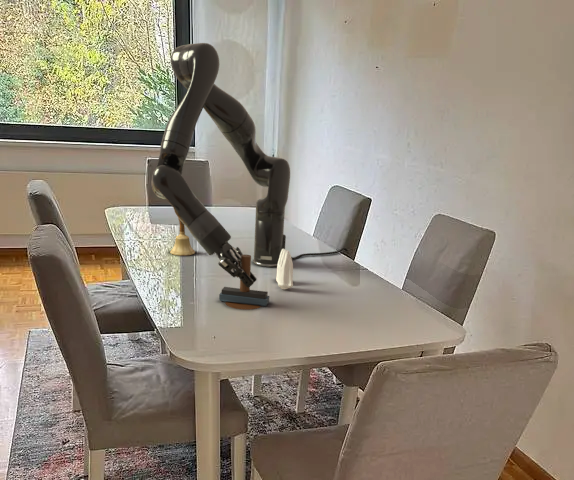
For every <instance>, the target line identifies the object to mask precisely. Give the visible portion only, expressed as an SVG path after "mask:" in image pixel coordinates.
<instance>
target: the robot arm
mask: <svg viewBox="0 0 574 480" xmlns="http://www.w3.org/2000/svg"><path fill="white" fill-rule="evenodd" d="M219 56H220V55H219V53H218V51H217V50H216V48H215V47H214V46H213V45H212V44H210V43H208V42H197V43H189V44H183V45H180V46H177V47H175V48H174V49H173V51H172V53H171V56H170V63H171V68H172V71H173V73H174V75H175V77H176V79H177V80H178V82H180V83H181V85H182V86H183V87H184V88H185V89H186V93H185V94H184V96H183V97H182V99H181V101H180V103H179V104H178V106H177V107H176V108H175V109H174V111H173V112H172V114H171V115H170V117H169V119H168V121H167V123H166V125H165V128H164V132H163V135H162V139H161V143H160V148H159V157H158V160H157V163H156V165H155V169H154V170H153V173H152V176H151V182H150V183H151V184H150V185H151V189H152V192H153V193H154V195H155V196H157V197H158V198H159V199H162V200H167V202H168V203H169V204H170V206H171V207H172V208H173V211H174V213H175V215H176V217H177V219H178V218H179V219H180V220H181V221H182V223H183V224H184V227H185V228H187V230H188V231H189V233H190V234H191V236H192V237H193V238H194V239H195V240H196V242H197V243H198V244H199V245H200V246H201V248H203V250H204V251H205V252H206V253H207V254H208V256H213V255H214V254H216V256H217V258H218V259H219V262H218V263H217V264H218V266H219V267H220V268H222V269H223V270H224V271H225V272H226V273H228V274H229V275H230V276H231V277H232V278H238V279H239V281H240V280H241V281H242V282H243V283H244V284H245V285H246V287H248V288H249V287H250V288H251V286H253V285H254V283H255V282H256V281H257V280H258V279H257V277H256V276H255V274H254V273H253V272H252V270H250V277H249V275H248V274H247V273H246V272H245V271H244V269H243V268H242V267H241V255H244V254H243V252H242V251H241V248H240V247H239V246H236V247H234V246H233V245H232V244H231V243H230V242H229V241H230V240H231V239H232V236H231V234H230V233H229V232H228V231H227V229H225V227H224V226H223V225H222V223H221V222H220V221H219V220H218V219H217V218H216V216H214V215H213V213H211V211H209V210H208V208H207V207H206V206H205V205H204V204H203V203H202V202H201V200H199V198H198V197H197V196H196V194H194V192H193V190H192V189H191V187H190V186H189V184H188V182H187V181H186V179H185V178H184V177H183V175H182V174H183V169H184V165H185V162H186V161H187V158H188V154H189V152H190V148H191V144H192V141H193V136H194V133H195V129H196V126H197V124H198V122H199V118H200V116H201V114H202V111H203V110H204V111H205V112H206V113H207V115H208V116H209V117H210V118H211V120H212V121H213V122H214V124H215V125H216V127H217V128H218V130H219V132H220V133H221V134H222V136H223V137H224V138H225V139H226V140H227V142H228V143H229V144H230V145H231V147H232V148H233V150H234V151H235V153H236V154H237V155H238V157H239V158H240V160H241V161H242V162H243V164H244V166H245V168H246V169H247V171H248V173H249V176H250V177H251V178H252V180H253V181H254V182H255V183H256V185H258V186H260V187H262V188H267V194H266V196H265V197H263V198H262V197H261V198H259V199H257V200H256V202H255V217H254V218H255V220H254V221H255V222H254V241H253V242H254V244H253V261H252V262H253V264H254V265H256V266H260V267H266V268H267V267H268V268H273V267H277V264H278V260H279V257H280V253H281V251H282V249H285V250H286V241H287V240H286V239H287V236H286V234H284V229H285V214H286V213H285V211H286V205H287V203H288V200H289V191H290V183H291V182H290V181H291V166H290V164H289V162H288V160H287V159H285V158H282V157H277V156H270V155H268V154H266V153H265V152H264V151H263V150H262V149H261V147H260V146H259V144H258V142H257V140H256V139H257V130H256V129H257V128H256V125H255V122H254V119H253V118H252V116H251V115H250V114H249V112H248V111H247V109H246V108H245V106H244V105H243V104H242V103H241V102H240V101H239V100H238V99H236V98H235V97H234V96H232V95H231V94H229V93H228V92H227V91H225V90H223V89H222V88H221V87H219V86H218V85H216V84H215V83H216V80H217V78H218V76H219V71H220V57H219ZM179 219H178V220H179ZM342 251H345V252H349V251H348V249H347V248H346V247H341V248H340V249H338V250H334V251H327V252H326V251H325V252H310V253H301V254H299V255H296V256H295V257H292V256H291V258H292V261H293V260H297V259H299V258H301V257H307V256H325V255H334V254H339V253H341V252H342Z"/></svg>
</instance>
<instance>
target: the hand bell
mask: <svg viewBox="0 0 574 480" xmlns="http://www.w3.org/2000/svg"><path fill="white" fill-rule="evenodd" d="M177 219H178V222H179V234H178V235H176V236H175V240H174V241H175V242H174V245H173V247H172V249H171V250H170V251H169V252H170V254H171V255H174V256H182V257H183V256H185V257H186V256H192V255H195V254H196V251H195V249H193V247H192V245H191V242H190V236H188V235H186V231H185V229H186V226H185V225H184V224H183V223H182V221H181V220H180V219H179V218H178V217H177Z"/></svg>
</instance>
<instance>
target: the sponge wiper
mask: <svg viewBox="0 0 574 480" xmlns="http://www.w3.org/2000/svg"><path fill="white" fill-rule="evenodd" d="M241 267H242V268H243V269H244V271H245V272H246V273H247V274H248V275H249V277H250V271H252V270H251V267H252V255H250V254H243V255H241ZM250 288H251V286H250V287H249V288H248V287H246V285H245V284H244V283H243V282H242V281H241V280H240V279H239V288H238V287H231V286H224V287H223V288H221V291H220V293H219V294H218V295H219V297H218V299H219V301H220V302H233V303H241V304H249V305H258V306H261V307H267V306H268V304H269V303H270V295H268V294H269V292H268V291H264V290H255V289H250Z"/></svg>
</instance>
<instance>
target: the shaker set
mask: <svg viewBox="0 0 574 480" xmlns="http://www.w3.org/2000/svg"><path fill="white" fill-rule="evenodd" d="M291 257H292V255H291V252H290V251H289V250H287V249H286V248H285V249H282V251H281V253H280V257H279V260H278V264H277V266H276V278H275V280H276V282H277V286H278V287H279V288H280V289H282V290H288V289H291V288H292V287H293V286H294V280H293V279H294V263H293V260H292V258H291Z"/></svg>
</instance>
